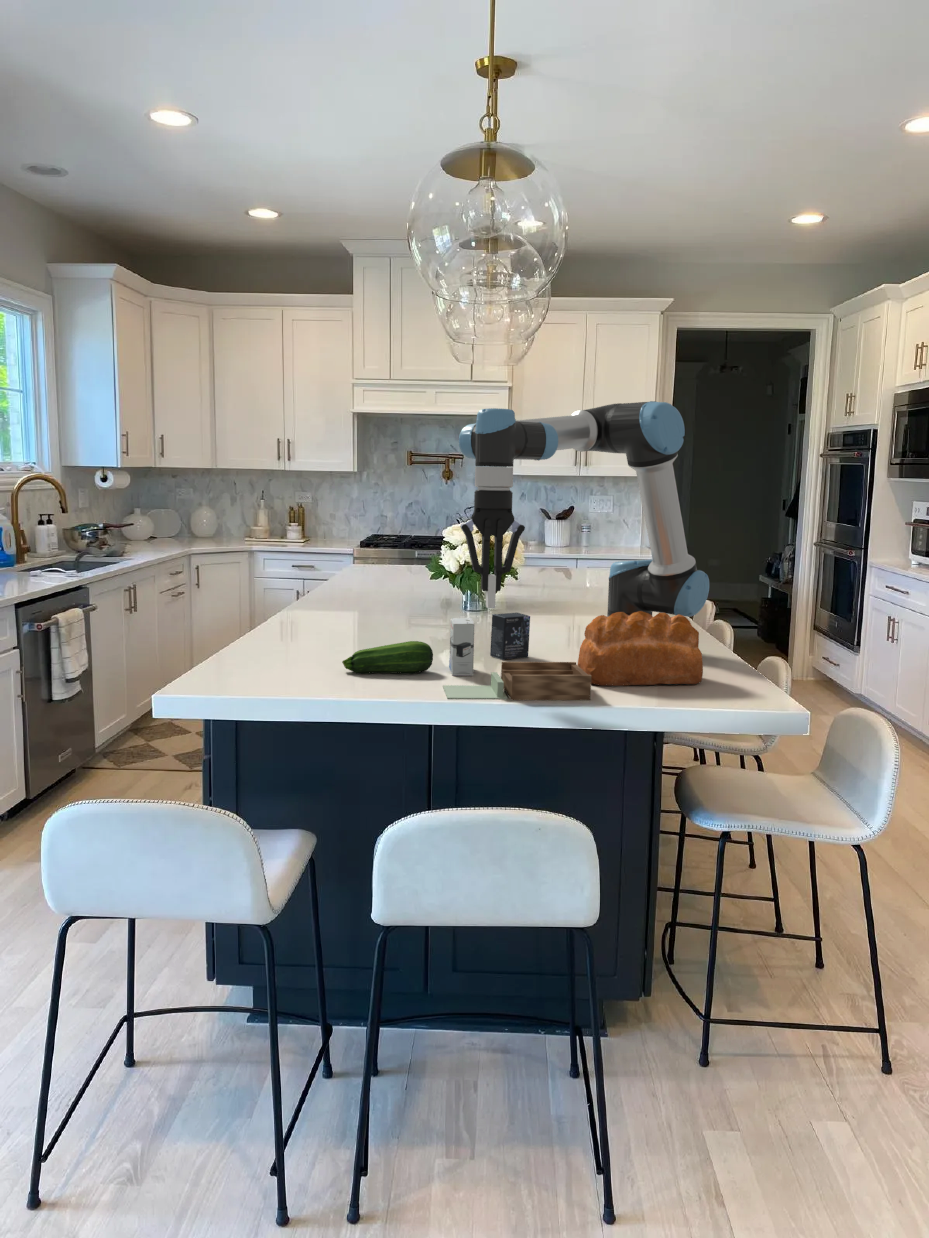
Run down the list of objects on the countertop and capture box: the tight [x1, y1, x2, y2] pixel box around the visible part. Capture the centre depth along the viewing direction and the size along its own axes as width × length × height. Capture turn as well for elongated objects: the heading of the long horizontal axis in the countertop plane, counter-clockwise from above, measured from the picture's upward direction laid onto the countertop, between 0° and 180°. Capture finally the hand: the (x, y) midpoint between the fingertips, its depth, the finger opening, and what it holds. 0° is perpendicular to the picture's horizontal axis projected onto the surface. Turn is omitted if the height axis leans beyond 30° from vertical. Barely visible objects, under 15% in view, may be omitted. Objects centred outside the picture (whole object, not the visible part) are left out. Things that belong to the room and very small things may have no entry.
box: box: [489, 612, 531, 661], centre depth 220 cm, size 8×6×11 cm
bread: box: [576, 611, 704, 687], centre depth 198 cm, size 14×26×16 cm, turn 99°
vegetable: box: [341, 640, 434, 675], centre depth 199 cm, size 7×7×20 cm
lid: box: [442, 671, 508, 700], centre depth 183 cm, size 12×10×4 cm
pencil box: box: [500, 661, 592, 701], centre depth 185 cm, size 16×13×5 cm
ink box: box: [448, 617, 475, 677], centre depth 201 cm, size 8×5×12 cm, turn 5°
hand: (490, 607), depth 181 cm, fingers closed
